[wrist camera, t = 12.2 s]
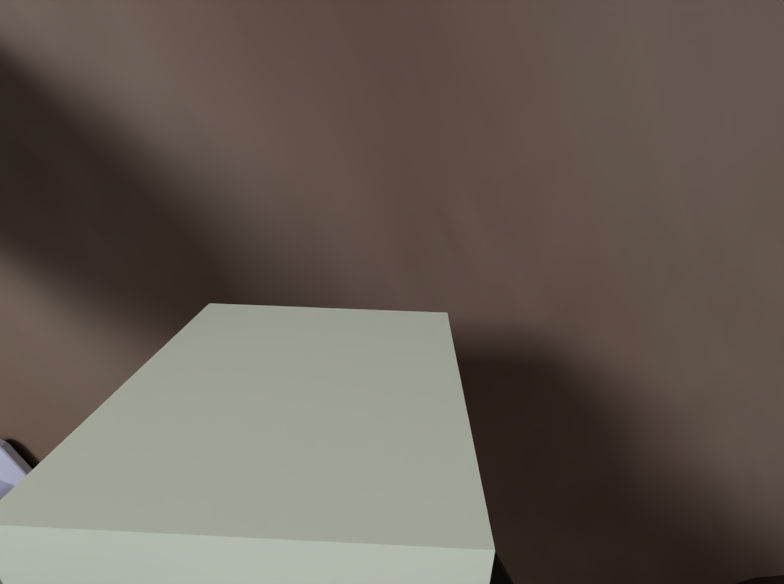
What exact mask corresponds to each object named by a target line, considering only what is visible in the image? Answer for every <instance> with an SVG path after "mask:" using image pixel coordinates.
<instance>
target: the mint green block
mask: <svg viewBox="0 0 784 584" xmlns="http://www.w3.org/2000/svg"><path fill="white" fill-rule="evenodd" d="M494 554H495V547H494V542H493V537H492V532H491V527H490V522H489V517H488V512H487V507H486V503H485V498H484V493H483V488H482V483H481V478H480V473H479V468H478V463H477V458H476V453H475V448H474V443H473V438H472V433H471V428H470V423H469V418H468V414H467V409H466V404H465V399H464V394H463V389H462V384H461V379H460V374H459V369H458V364H457V359H456V354H455V349H454V344H453V339H452V334H451V329H450V325H449V320H448V315H447V313H440V312H415V311H390V310H365V309H339V308H314V307H289V306H264V305H238V304H213V303H209V304H208V305H207V306H206V307H205V308H204V309H203V310H202V311H201V312H200V313H199V314H197V315H196V316H195V317H194V318H193V319H192V320H191V321H190V322H189V323H188V324H187V325H186V326H185V327H184V328H183V329H182V330H180V331H179V332H178V333H177V334H176V335H175V336H174V337H173V338H172V339H171V340H170V341H169V342H168V343H167V344H166V345H165V346H163V347H162V348H161V349H160V350H159V351H158V352H157V353H156V354H155V355H154V356H153V357H152V358H151V359H150V360H149V361H148V362H147V363H145V364H144V365H143V366H142V367H141V368H140V369H139V370H138V371H137V372H136V373H135V374H134V375H133V376H132V377H131V378H130V379H128V380H127V381H126V382H125V383H124V384H123V385H122V386H121V387H120V388H119V389H118V390H117V391H116V392H115V393H114V394H113V395H111V396H110V397H109V398H108V399H107V400H106V401H105V402H104V403H103V404H102V405H101V406H100V407H99V408H98V409H97V410H96V411H94V412H93V413H92V414H91V415H90V416H89V417H88V418H87V419H86V420H85V421H84V422H83V423H82V424H81V425H80V426H79V427H77V428H76V429H75V430H74V431H73V432H72V433H71V434H70V435H69V436H68V437H67V438H66V439H65V440H64V441H63V442H62V443H60V444H59V445H58V446H57V447H56V448H55V449H54V450H53V451H52V452H51V453H50V454H49V455H48V456H47V457H46V458H45V459H43V460H42V461H41V462H40V463H39V464H38V465H37V466H36V467H35V468H34V469H33V470H32V471H31V472H30V473H29V474H28V475H26V476H25V477H24V478H23V479H22V480H21V481H20V482H19V483H18V484H17V485H16V486H15V487H14V488H13V489H12V490H11V491H9V492H8V493H7V494H6V495H5V496H4V497H3V498H2V499H1V500H0V579H1V582H2V584H490V578H491V572H492V566H493V560H494Z"/></svg>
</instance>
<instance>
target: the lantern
mask: <svg viewBox="0 0 784 584" xmlns="http://www.w3.org/2000/svg"><path fill="white" fill-rule="evenodd" d="M740 584H784V576H777V577H768V578H758V579H753V580H749V581H746V582H743V583H740Z"/></svg>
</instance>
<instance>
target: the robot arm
mask: <svg viewBox="0 0 784 584" xmlns="http://www.w3.org/2000/svg"><path fill="white" fill-rule="evenodd" d="M32 470H33V469H32V468H31V467H30V466H29V465H28V464H27V463H26V462H25V460H24V459H23V458H22V457H21V456H20V455H19V454H18V453H17V452H16V451H15V450H14V448H13V447H12V446H11V445H10V444H9V443H7V442H6V441H4V440H0V500H1V499H2V498H3V497H4V496H5V495H6V494H7V493H8V492H9V491H11V490H12V489H13V488H14V487H15V486H16V485H17V484H18V483H19V482H20V481H21V480H22V479H23V478H24V477H25V476H26V475H28V474H29V473H30V472H31V471H32ZM0 584H2V582H1V579H0ZM490 584H513V582H512V580H511V579H510V577H509V575H508V573H507V571H506V570H505V568H504V566H503V564H502V563H501V561H500V559H499V557H498V555H497V554H496V552H495V554H494V560H493V566H492V572H491V578H490Z"/></svg>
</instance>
